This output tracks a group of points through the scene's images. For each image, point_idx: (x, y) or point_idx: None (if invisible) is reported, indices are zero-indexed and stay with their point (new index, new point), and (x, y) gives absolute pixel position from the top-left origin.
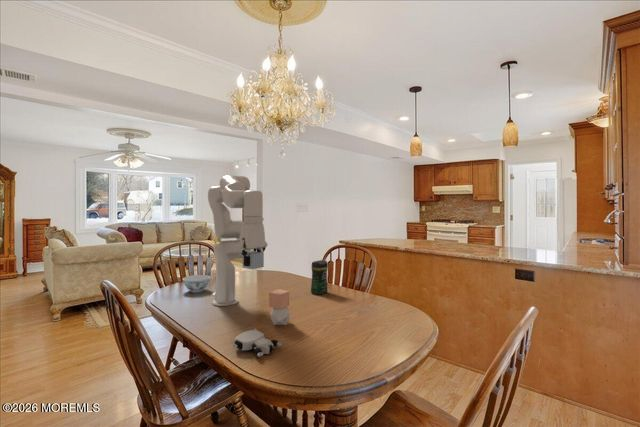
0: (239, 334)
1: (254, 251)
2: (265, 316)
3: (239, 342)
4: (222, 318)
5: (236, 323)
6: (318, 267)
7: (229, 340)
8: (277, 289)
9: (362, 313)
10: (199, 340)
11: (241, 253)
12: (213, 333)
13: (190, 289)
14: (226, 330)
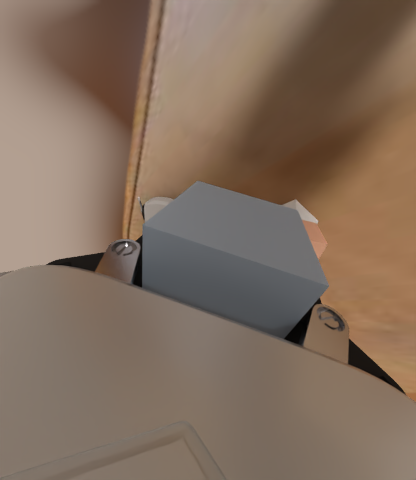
0: (157, 204)
1: (300, 300)
2: (332, 159)
3: (143, 215)
4: (286, 20)
5: (257, 111)
6: None
7: (138, 197)
8: (322, 243)
9: (378, 335)
10: (144, 103)
11: (83, 256)
12: (183, 103)
13: None
14: (209, 121)
